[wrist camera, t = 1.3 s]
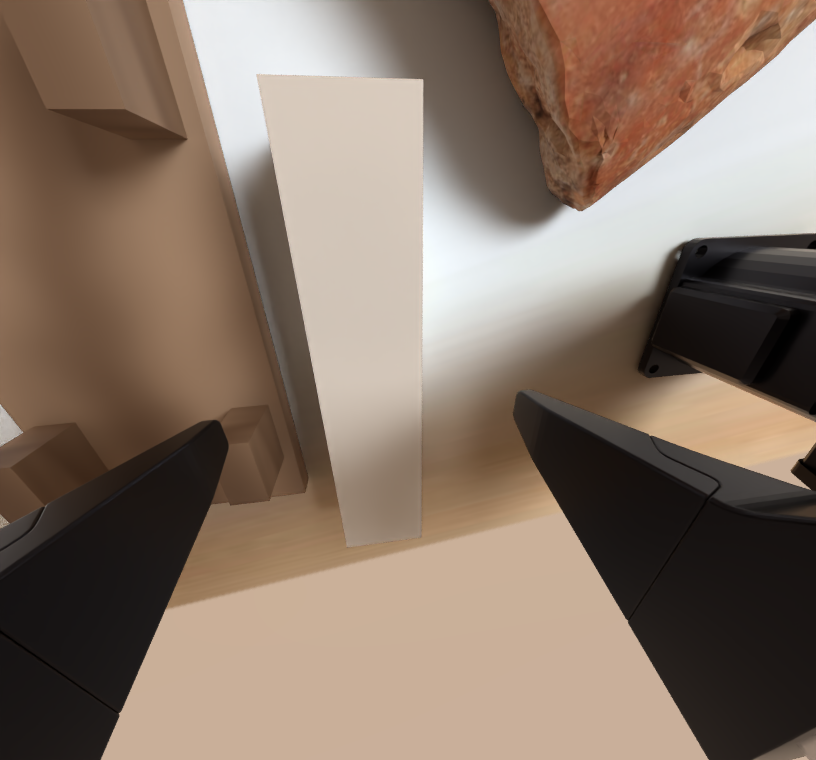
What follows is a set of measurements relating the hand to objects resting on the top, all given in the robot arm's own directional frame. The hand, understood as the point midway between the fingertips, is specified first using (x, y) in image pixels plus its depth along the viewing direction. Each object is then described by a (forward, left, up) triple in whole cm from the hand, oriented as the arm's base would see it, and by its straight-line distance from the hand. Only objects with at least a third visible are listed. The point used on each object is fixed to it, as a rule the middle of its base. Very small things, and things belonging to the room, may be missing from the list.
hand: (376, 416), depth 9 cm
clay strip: (0, 0, -5) cm, 5 cm away
